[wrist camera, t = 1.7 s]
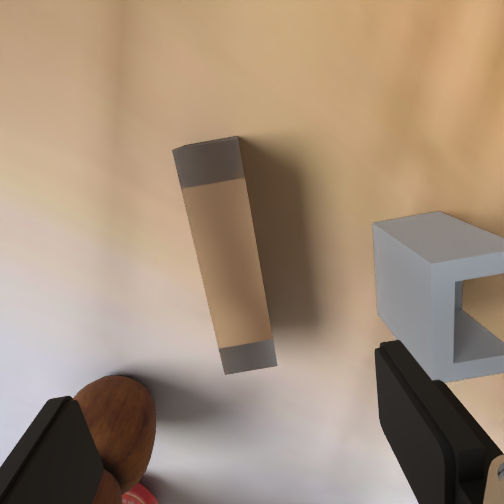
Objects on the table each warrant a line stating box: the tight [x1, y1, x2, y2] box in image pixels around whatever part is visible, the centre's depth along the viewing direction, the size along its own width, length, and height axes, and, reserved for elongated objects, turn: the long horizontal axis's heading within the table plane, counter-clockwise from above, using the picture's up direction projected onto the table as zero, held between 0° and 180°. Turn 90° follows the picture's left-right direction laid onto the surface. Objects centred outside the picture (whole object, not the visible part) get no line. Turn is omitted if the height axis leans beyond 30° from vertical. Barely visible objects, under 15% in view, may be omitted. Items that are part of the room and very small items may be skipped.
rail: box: [172, 136, 277, 375], centre depth 23 cm, size 3×14×5 cm, turn 10°
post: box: [372, 211, 504, 383], centre depth 23 cm, size 7×5×8 cm, turn 10°
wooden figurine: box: [73, 376, 156, 504], centre depth 22 cm, size 7×6×15 cm
